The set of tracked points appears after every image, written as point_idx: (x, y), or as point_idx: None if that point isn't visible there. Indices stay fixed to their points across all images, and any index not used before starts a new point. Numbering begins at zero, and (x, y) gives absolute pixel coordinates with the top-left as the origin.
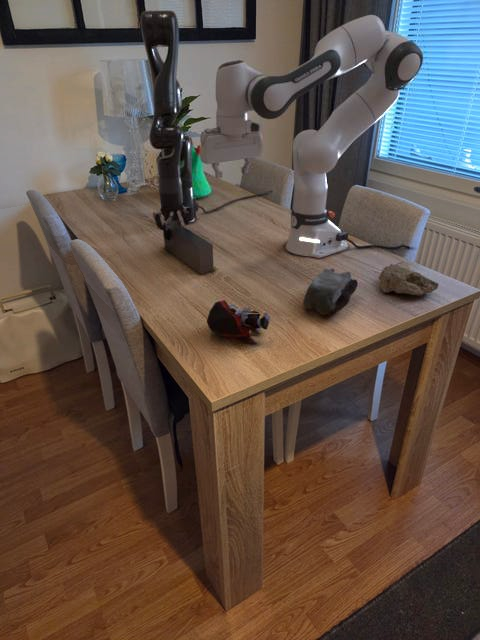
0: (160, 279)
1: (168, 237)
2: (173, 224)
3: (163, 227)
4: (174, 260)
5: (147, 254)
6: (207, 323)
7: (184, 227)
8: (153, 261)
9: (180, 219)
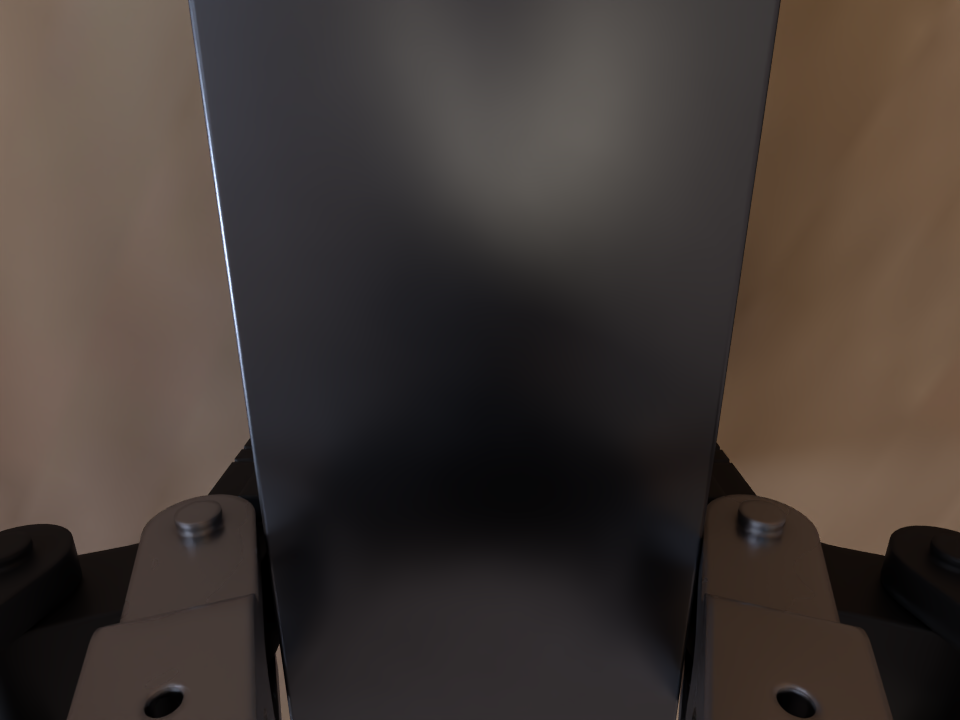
0: None
1: None
2: (441, 692)
3: (869, 600)
4: None
5: (852, 431)
6: None
7: (245, 313)
8: (946, 172)
9: (210, 676)
